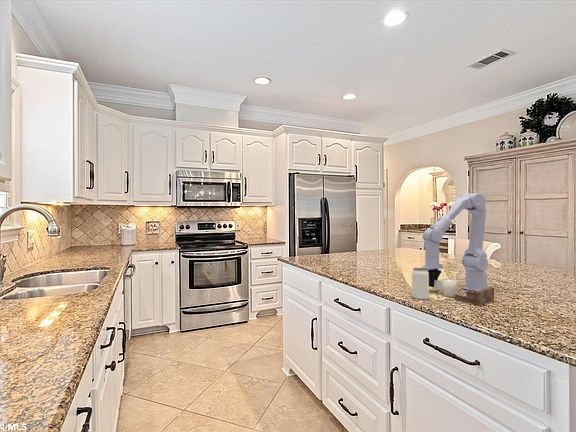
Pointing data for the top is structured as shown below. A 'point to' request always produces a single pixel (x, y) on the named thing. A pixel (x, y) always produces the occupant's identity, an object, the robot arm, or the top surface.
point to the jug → (447, 287)
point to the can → (420, 283)
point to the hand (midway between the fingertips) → (432, 286)
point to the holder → (477, 296)
